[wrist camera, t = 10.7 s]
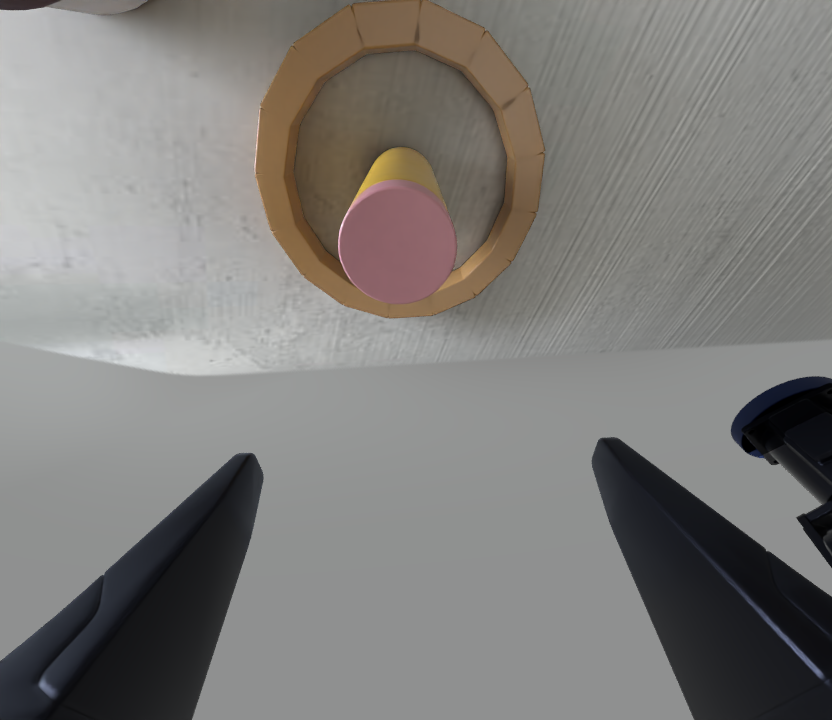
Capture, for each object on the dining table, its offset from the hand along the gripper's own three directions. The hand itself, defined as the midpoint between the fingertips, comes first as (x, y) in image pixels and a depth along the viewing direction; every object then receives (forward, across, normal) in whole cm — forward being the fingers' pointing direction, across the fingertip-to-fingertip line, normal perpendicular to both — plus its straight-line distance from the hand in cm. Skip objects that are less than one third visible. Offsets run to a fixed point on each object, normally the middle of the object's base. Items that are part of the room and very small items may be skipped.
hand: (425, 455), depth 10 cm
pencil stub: (+12, 0, -5) cm, 13 cm away
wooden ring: (+12, 0, -4) cm, 13 cm away
